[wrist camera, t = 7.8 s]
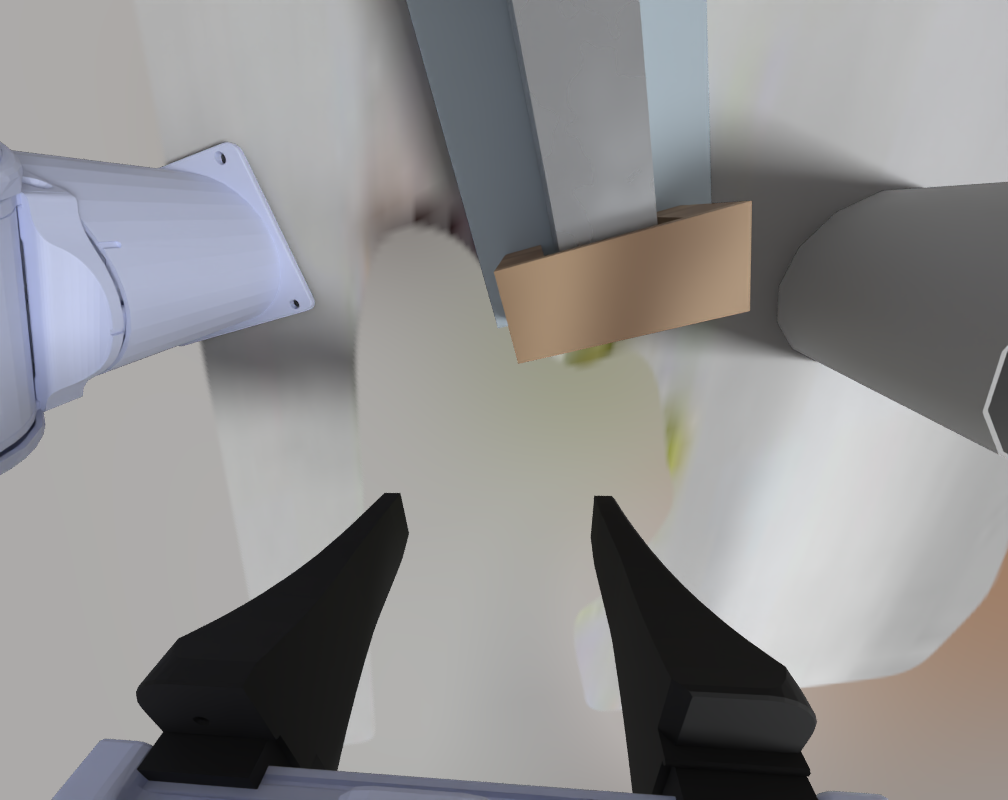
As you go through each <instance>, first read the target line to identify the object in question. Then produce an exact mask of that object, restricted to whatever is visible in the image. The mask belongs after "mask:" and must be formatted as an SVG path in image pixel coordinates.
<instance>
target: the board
mask: <svg viewBox="0 0 1008 800" xmlns="http://www.w3.org/2000/svg"><path fill="white" fill-rule="evenodd" d="M406 2H407V5H408V9H409V12H410V16H411V20H412V23H413V27H414V30H415V34H416V37H417V41H418V45H419V48H420V52H421V55H422V59H423V62H424V66H425V70H426V73H427V77H428V80H429V84H430V87H431V91H432V95H433V98H434V102H435V105H436V109H437V112H438V116H439V119H440V123H441V127H442V130H443V134H444V137H445V141H446V144H447V148H448V152H449V155H450V159H451V162H452V166H453V169H454V173H455V177H456V180H457V184H458V187H459V191H460V194H461V198H462V202H463V205H464V209H465V212H466V216H467V219H468V223H469V227H470V230H471V234H472V237H473V241H474V244H475V248H476V252H477V255H478V259H479V262H480V266H481V269H482V273H483V277H484V280H485V284H486V287H487V291H488V294H489V298H490V302H491V305H492V309H493V312H494V316H495V319H496V323H497V327H498V328H501V327H505V326H508V323H507V320H506V316H505V312H504V308H503V305H502V301H501V297H500V293H499V290H498V286H497V282H496V278H495V275H494V271H495V269H496V268H497V266H498V265H499V263H500V262H501V260H502V259H503V257H504V256H505V255H506V254H510V253H513V252H517V251H520V250H524V249H528V248H531V247H535V246H538V245H541V247H542V251H543V254H544V256H546V255H550V254H554V253H555V249H554V244H553V239H552V234H551V228H550V223H549V218H548V213H547V208H546V203H545V198H544V192H543V187H542V182H541V177H540V172H539V167H538V162H537V156H536V151H535V146H534V141H533V136H532V131H531V126H530V121H529V115H528V110H527V105H526V100H525V95H524V90H523V85H522V79H521V74H520V69H519V64H518V59H517V54H516V49H515V43H514V38H513V33H512V28H511V23H510V18H509V13H508V8H507V2H506V0H406ZM640 12H641V25H642V37H643V50H644V62H645V74H646V87H647V99H648V111H649V124H650V136H651V149H652V161H653V173H654V186H655V198H656V211H657V212H658V211H662V210H666V209H669V208H673V207H676V206H680V205H694V204H709V203H711V166H710V124H709V81H708V38H707V0H640Z"/></svg>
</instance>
